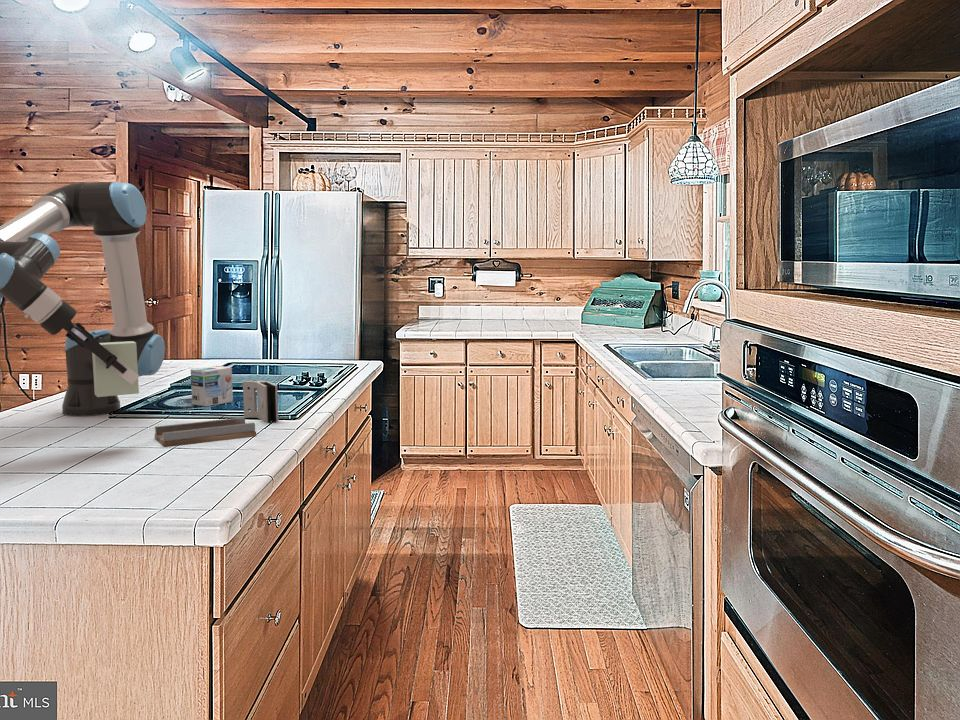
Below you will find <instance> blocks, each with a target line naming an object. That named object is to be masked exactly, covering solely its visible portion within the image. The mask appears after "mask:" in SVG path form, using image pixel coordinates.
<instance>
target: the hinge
mask: <svg viewBox="0 0 960 720" xmlns="http://www.w3.org/2000/svg"><path fill="white" fill-rule="evenodd" d="M242 395H243V396H242V397H243V399H242V400H243V417H249V418H257V419H259V420H261V421H263V422H264V423H269V424H272V423H277V422H279V400H278V399H279V397H278V395H279V392H278V384H275V383H273V382H272V381H267V380H256V381H251V380H242ZM249 409H250V410H249Z"/></svg>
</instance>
